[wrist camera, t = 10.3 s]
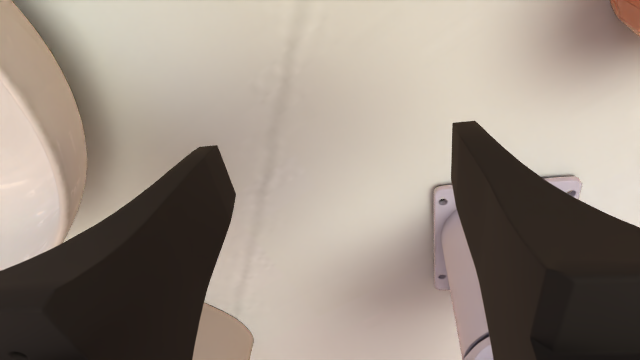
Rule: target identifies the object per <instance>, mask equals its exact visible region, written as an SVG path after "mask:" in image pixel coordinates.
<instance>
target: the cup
mask: <svg viewBox="0 0 640 360" xmlns="http://www.w3.org/2000/svg"><path fill="white" fill-rule="evenodd" d="M610 2H611V6H612V9H613V10H614V12H615V14H616V16H617V17H618V18H619V19H620V21H622V22H623V23H624V24H625V25H626V26H628V27H629V28H630V29H631V30H632V31H633V32H634V33H635V34H636V35H638V36H639V37H640V0H610Z"/></svg>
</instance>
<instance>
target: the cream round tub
mask: <svg viewBox="0 0 640 360" xmlns="http://www.w3.org/2000/svg"><path fill="white" fill-rule="evenodd" d="M253 342H254V340H253V336H252V334H251V332H250V331H249V330H248V329H247V328H246V327H245V326H244V325H243V324H242V323H241V322H239V321H238V320H237V319H235V318H234V317H232V316H230V315H229V314H227V313H225V312H223V311H221V310H219V309H217V308H215V307H212V306H210V305H208V304H206V303H204V304H203V309H202V313H201V317H200V322H199V327H198V332H197V337H196V342H195V347H194V353H193V359H192V360H249V359H250V355H251V351H252V346H253Z"/></svg>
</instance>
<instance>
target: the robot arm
mask: <svg viewBox="0 0 640 360" xmlns="http://www.w3.org/2000/svg"><path fill="white" fill-rule="evenodd" d="M451 181H452V185H442V186H438V187H437V188H436V189H435V190H434V285H435V288H437V289H439V290H450V293H451V298H452V304H453V310H454V315H455V321H456V326H457V332H458V338H459V343H460V349H461V354H462V360H640V228H639V227H637V226H634V225H632V224H629V223H627V222H624V221H622V220H620V219H617V218H615V217H613V216H611V215H608V214H606V213H604V212H602V211H600V210H598V209H596V208H594V207H592V206H590V205H588V204H586V203H584V202H582V201H580V200H578V199H579V195H580V192H581V188H582V183H581V181H580V179H579V178H578V177H575V176H569V177H555V178H542V177H540V176H539V175H537V174H536V173H535V172H533V171H532V170H530V169H529V168H528V167H526V166H525V165H524V164H522V163H521V162H520V161H519V160H517V159H516V158H515V157H514V156H513V155H512V154H510V153H509V152H508V151H507V150H506V149H505V148H503V147H502V146H501V145H500V144H499V143H498V142H497V141H496V140H495V139H494V138H493V137H492V136H490V135H489V134H488V133H487V132H486V131H485V130H484V129H483V128H482V127H481V126H480V125H479V124H478V123H477V122H476V121H468V122H458V123H453V129H452V166H451ZM571 190H573V191H571ZM568 191H571V192H569V193H567V192H568ZM235 197H236V193H235V191H234V188H233V185H232V183H231V180H230V178H229V175H228V172H227V170H226V167H225V164H224V162H223V159H222V157H221V154H220V151H219V149H218V146H217V145H216V146H205V147H199V148H197V149H196V150H194V151H193V152H192V153H190V154H189V155H188V156H186V157H185V158H184V159H183V160H182V161H180V162H179V163H178V164H177V165H176V166H174V167H173V168H172V169H171V170H170V171H168V172H167V173H166V174H165V175H164V176H162V177H161V178H160V179H159V180H158V181H156V182H155V183H154V184H153V185H151V186H150V187H149V188H148V189H146V190H145V191H144V192H142V193H141V194H140V195H138V196H137V197H136V198H135V199H133V200H132V201H131V202H129V203H128V204H127V205H125V206H124V207H122V208H121V209H119V210H118V211H117V212H115V213H114V214H112V215H110V216H109V217H107V218H106V219H104V220H103V221H101V222H99V223H98V224H96V225H95V226H93V227H91V228H89V229H87V230H86V231H84V232H82V233H80V234H78V235H77V236H75V237H73V238H71V239H69V240H68V241H66V242H64V243H62V244H60V245H58V246H56V247H54V248H52V249H50V250H48V251H46V252H44V253H41V254H39V255H37V256H35V257H33V258H30V259H28V260H26V261H23V262H21V263H19V264H16V265H14V266H11V267H9V268H6V269H4V270H1V271H0V360H192V359H193V353H194V347H195V342H196V337H197V332H198V327H199V322H200V317H201V313H202V309H203V304H204V300H205V296H206V292H207V288H208V285H209V282H210V278H211V276H212V273H213V270H214V267H215V264H216V262H217V259H218V256H219V253H220V251H221V248H222V245H223V242H224V239H225V237H226V234H227V231H228V228H229V225H230V222H231V218H232V213H233V208H234V202H235ZM441 199H446V200H444V201H439V200H441Z"/></svg>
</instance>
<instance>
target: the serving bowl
mask: <svg viewBox="0 0 640 360" xmlns="http://www.w3.org/2000/svg"><path fill="white" fill-rule="evenodd" d="M86 174H87V150H86V141H85V135H84V130H83V125H82V121H81V118H80V114H79V111H78V108H77V105H76V102H75V99H74V97H73V94H72V92H71V89H70V87H69V85H68V83H67V81H66V79H65V77H64V75H63V72H62V71H61V69H60V67H59V65H58V64H57V62H56V60H55V58H54V57H53V55H52V53H51V52H50V50H49V49H48V47H47V46H46V44H45V43H44V41H43V40H42V38H41V37H40V35H39V34H38V32H37V31H36V30H35V28H34V27H33V26H32V25H31V23H30V22H29V21H28V19H27V18H26V17H25V16H24V14H23V13H22V12H21V11H20V10H19V9H18V7H17V6H16V5H15V4H14V3H13V2H12V0H0V271H1V270H4V269H6V268H9V267H11V266H14V265H16V264H19V263H21V262H23V261H26V260H28V259H30V258H33V257H35V256H37V255H39V254H41V253H44V252H46V251H48V250H50V249H52V248H54V247H56V246H58V245H60V244H62V243H63V241H64V239H65V238H66V236H67V234H68V232H69V230H70V228H71V225H72V223H73V221H74V219H75V216H76V214H77V212H78V209H79V206H80V203H81V200H82V196H83V193H84V188H85V182H86Z"/></svg>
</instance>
